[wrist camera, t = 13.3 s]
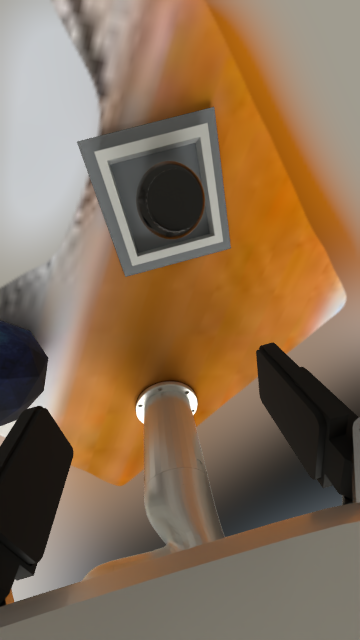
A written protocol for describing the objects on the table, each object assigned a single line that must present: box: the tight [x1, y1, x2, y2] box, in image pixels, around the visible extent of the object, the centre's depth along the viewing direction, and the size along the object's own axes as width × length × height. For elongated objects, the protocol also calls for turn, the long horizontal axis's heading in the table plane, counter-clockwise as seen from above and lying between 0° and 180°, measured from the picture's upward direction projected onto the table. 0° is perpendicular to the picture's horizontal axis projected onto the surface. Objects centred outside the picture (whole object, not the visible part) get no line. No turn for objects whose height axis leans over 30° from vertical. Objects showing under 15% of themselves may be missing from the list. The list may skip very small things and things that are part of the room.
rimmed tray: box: [77, 107, 231, 277], centre depth 28 cm, size 16×16×4 cm
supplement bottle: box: [136, 161, 205, 239], centre depth 24 cm, size 7×7×12 cm
